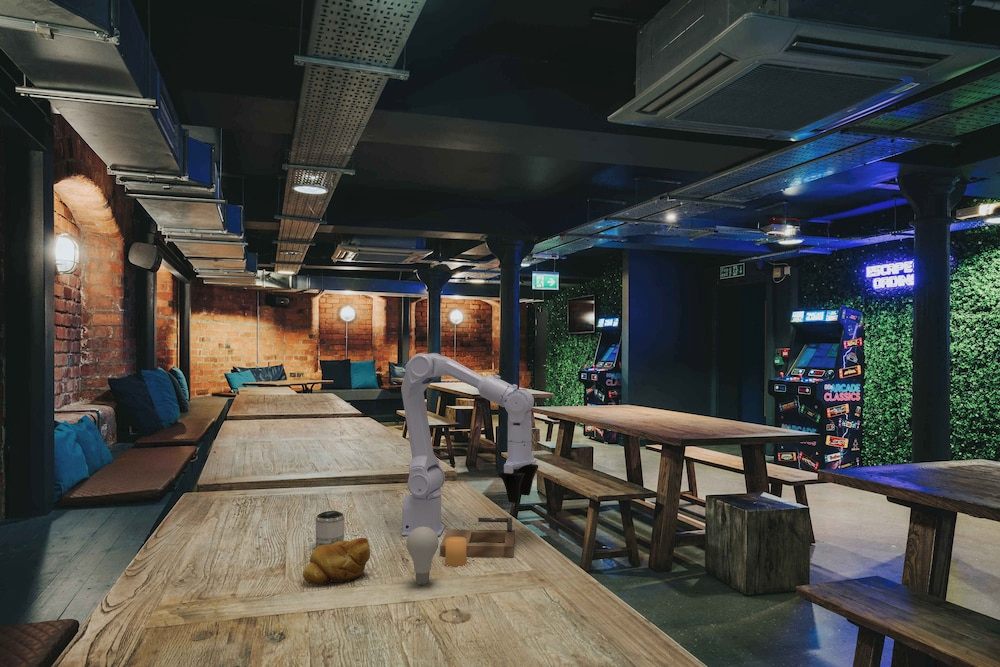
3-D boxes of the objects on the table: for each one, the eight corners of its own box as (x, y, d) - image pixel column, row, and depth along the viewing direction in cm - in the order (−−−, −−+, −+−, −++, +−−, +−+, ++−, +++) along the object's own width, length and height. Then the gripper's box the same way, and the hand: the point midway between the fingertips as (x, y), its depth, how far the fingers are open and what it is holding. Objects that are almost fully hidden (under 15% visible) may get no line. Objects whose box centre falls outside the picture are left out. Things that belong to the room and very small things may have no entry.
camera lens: (349, 547, 141) (349, 512, 141) (325, 554, 136) (325, 518, 137) (334, 541, 145) (334, 507, 145) (310, 547, 141) (310, 513, 141)
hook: (478, 542, 145) (478, 518, 145) (478, 540, 146) (478, 517, 146) (512, 542, 144) (512, 518, 144) (512, 540, 145) (512, 517, 145)
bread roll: (308, 593, 115) (308, 549, 115) (295, 576, 123) (295, 536, 123) (374, 579, 122) (374, 538, 122) (357, 564, 130) (358, 526, 130)
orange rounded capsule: (444, 567, 128) (444, 542, 128) (447, 559, 133) (447, 536, 133) (465, 567, 128) (465, 543, 128) (467, 560, 132) (467, 536, 133)
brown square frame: (439, 556, 135) (439, 545, 135) (447, 539, 147) (447, 529, 147) (513, 557, 134) (513, 546, 134) (514, 540, 146) (514, 530, 146)
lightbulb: (443, 580, 121) (443, 524, 121) (430, 592, 115) (430, 533, 115) (415, 577, 123) (415, 521, 123) (400, 588, 117) (400, 529, 117)
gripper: (524, 446, 138) (524, 507, 138) (545, 437, 151) (545, 493, 151) (495, 444, 141) (495, 504, 141) (518, 436, 154) (518, 490, 154)
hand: (519, 498), depth 146 cm, fingers open, 7 cm apart
